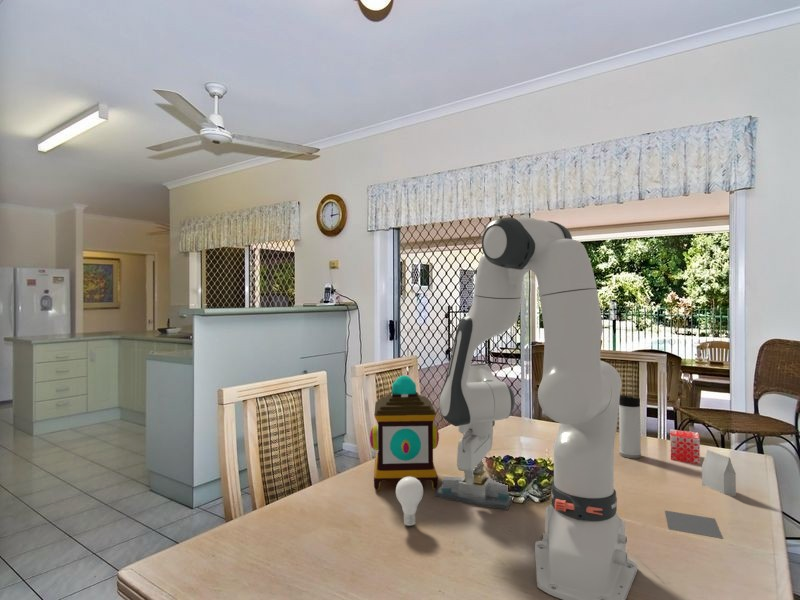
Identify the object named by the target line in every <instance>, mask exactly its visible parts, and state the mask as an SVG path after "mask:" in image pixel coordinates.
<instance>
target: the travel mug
mask: <svg viewBox="0 0 800 600" xmlns="http://www.w3.org/2000/svg"><path fill="white" fill-rule="evenodd" d="M640 403H641V398H640V397H634V396H631V395H625V394H623V395H622V394H620V399H619V411H618V421H619V423H618V424H619V426H618V427H619V430H618V431H619V432H618V433H619V436H618V438H619V441H618V442H619V456H621V457H623V458H627V459H634V460H635V459H640V458H641V455H642V454H641V453H642V452H641V451H642V449H641V448H642V446H641V445H642V444H641V438H642V437H641V436H642V435H641V404H640Z"/></svg>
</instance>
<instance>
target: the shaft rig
mask: <svg viewBox="0 0 800 600" xmlns="http://www.w3.org/2000/svg"><path fill="white" fill-rule="evenodd" d="M490 477H491V476H487V475H486V482H485V483H484V485H477V484H473V485H468V484H467V483H465V474H464V475H463V477H461V476H442V484H441V485H440V487H438V488H437V490H435V492H434V497H435V498H440V499H444V500H449V501H450V500H451V501H455V502H461V503H466V504H471V505H476V506H481V507H488V508H492V509H497V510H502V511H503V510H504V511H508V510H509V509H510V506H511V505H512V503H513V502H514V499H513V500H512V497H509V493H508V485H505V484H502V483H499V482H496V481H497V480H493V478H492V479H491V478H490Z"/></svg>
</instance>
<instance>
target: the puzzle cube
mask: <svg viewBox="0 0 800 600" xmlns="http://www.w3.org/2000/svg"><path fill="white" fill-rule="evenodd" d="M669 434H670V435H669V436H670V437H669V438H670V439H669V444H670V445H669V447H670V450H669V451H670V452H669V453H670V460H671V461H679V462H685V463H690V464H691V463H692V464H698V465H699V464H701V460H700V459H701V458H700V457H701V449H700V448H701V445H700V444H701V442H700V441H701V438H700V436H699V435H700V434H699V432H697V431H690V430H689V431H688V430H680V429H679V430H678V429H669Z"/></svg>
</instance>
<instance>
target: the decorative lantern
mask: <svg viewBox="0 0 800 600" xmlns="http://www.w3.org/2000/svg"><path fill="white" fill-rule="evenodd" d="M391 386H392V388H391V392H389V394H387V395H386V396H381V397H380V398H379V399H377V401H375V405H374V418H375V420H376V423H377V425H374V426H372V428H371V430H370V433H369V443H370V447H371V448H372V449H373V450H374V451H378V452H377V454H376V456H375V459H374V472H373V473H374V474H373V486H374V490H375V491H380V485H381V482H391V481H392V482H393V481H394V482H395V481H398V482H399V481H400V480H401V479H402V478H404V477H408V476H411V477H415V478H416V479H418V480H419V481H430V482H431V487H432V489H433V490H436V489H437V490H438V485H439V477H438V474H437V469H436V467H435V464H434V450H435V449H436V448H437V447H438V445H439V441H440V433H439V430H438V428H437V426H436V425H434V421H435V419H436V417H437V412H436V410H435V408H434V406H433V404H432V402H431V401H430V399H429V398H427V396H425V395H421V394H419V393H418V392H417V386H416V382H414V380H413V379H412V378H411V377H410V376H408V375H405V374H404V375H400V376H399V377H397V378H396V379H395V381H394V382H393V383H392V385H391Z"/></svg>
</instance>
